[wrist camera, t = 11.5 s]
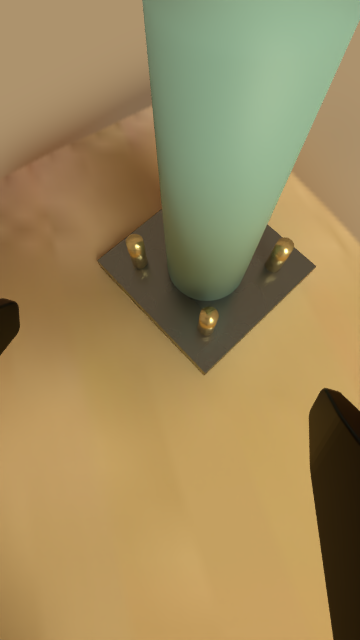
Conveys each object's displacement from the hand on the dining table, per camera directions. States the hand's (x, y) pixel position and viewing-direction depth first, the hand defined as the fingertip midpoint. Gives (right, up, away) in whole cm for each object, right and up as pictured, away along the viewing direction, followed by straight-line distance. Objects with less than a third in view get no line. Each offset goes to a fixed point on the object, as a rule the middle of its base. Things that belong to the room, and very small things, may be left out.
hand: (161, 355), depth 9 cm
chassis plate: (+2, +4, +12) cm, 13 cm away
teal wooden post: (+2, +5, +11) cm, 12 cm away
